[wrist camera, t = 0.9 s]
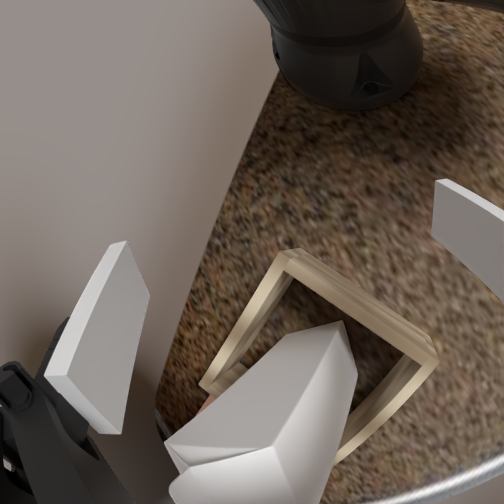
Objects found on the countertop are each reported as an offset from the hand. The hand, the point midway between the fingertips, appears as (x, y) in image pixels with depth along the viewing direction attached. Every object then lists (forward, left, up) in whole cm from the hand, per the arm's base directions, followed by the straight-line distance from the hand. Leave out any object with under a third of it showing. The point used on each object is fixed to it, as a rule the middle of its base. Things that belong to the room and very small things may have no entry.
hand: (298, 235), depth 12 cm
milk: (+11, +5, -16) cm, 20 cm away
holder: (+11, +5, -16) cm, 20 cm away
